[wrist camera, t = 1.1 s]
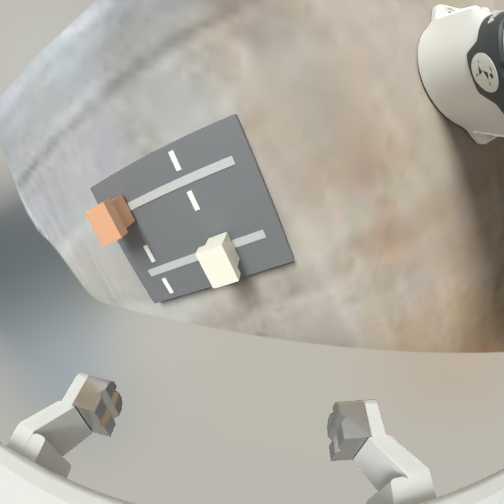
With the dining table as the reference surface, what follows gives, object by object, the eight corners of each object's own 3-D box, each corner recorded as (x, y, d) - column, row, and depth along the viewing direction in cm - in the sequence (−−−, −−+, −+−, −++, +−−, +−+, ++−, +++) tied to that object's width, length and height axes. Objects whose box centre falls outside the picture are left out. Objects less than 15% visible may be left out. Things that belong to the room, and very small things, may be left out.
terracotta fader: (122, 190, 32) (103, 202, 28) (138, 222, 34) (121, 237, 30) (104, 200, 33) (84, 212, 29) (120, 230, 35) (103, 246, 31)
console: (236, 114, 30) (234, 114, 28) (293, 255, 37) (293, 261, 35) (96, 185, 34) (90, 188, 33) (158, 297, 41) (154, 303, 40)
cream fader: (228, 227, 34) (221, 244, 29) (243, 260, 35) (239, 281, 31) (204, 236, 34) (195, 254, 30) (220, 267, 36) (213, 288, 32)
